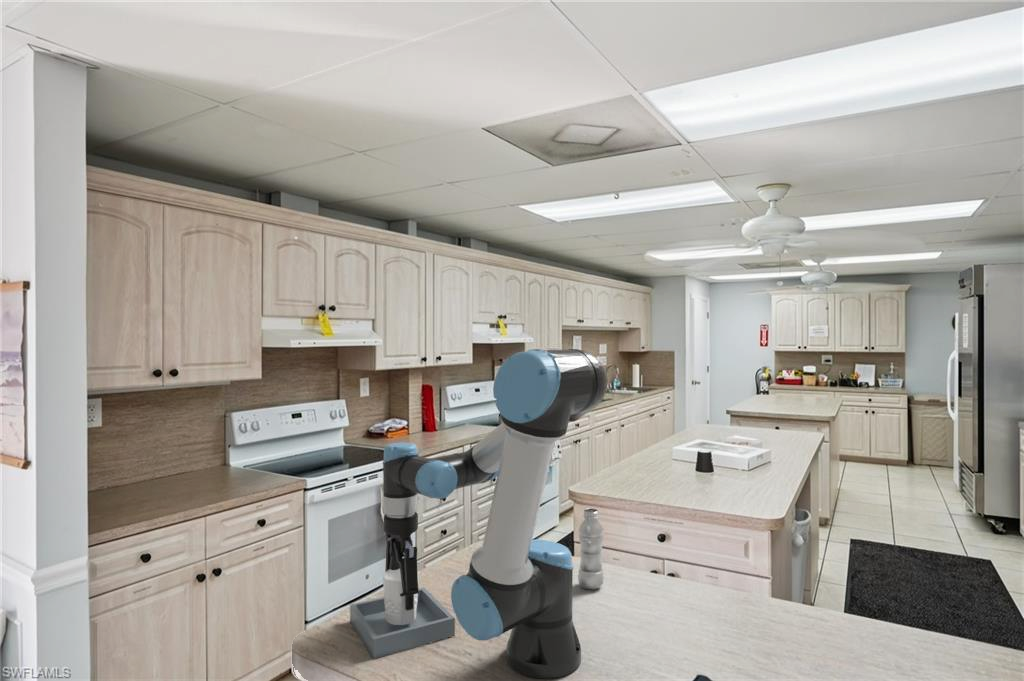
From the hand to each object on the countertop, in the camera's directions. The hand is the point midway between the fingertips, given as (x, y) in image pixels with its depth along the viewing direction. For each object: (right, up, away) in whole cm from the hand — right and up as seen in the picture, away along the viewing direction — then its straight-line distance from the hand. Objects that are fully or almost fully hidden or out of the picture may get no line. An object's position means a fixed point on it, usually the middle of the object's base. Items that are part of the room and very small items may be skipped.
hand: (401, 615), depth 132 cm
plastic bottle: (+45, -3, +22) cm, 50 cm away
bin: (0, -3, 0) cm, 3 cm away
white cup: (0, -1, 0) cm, 1 cm away
